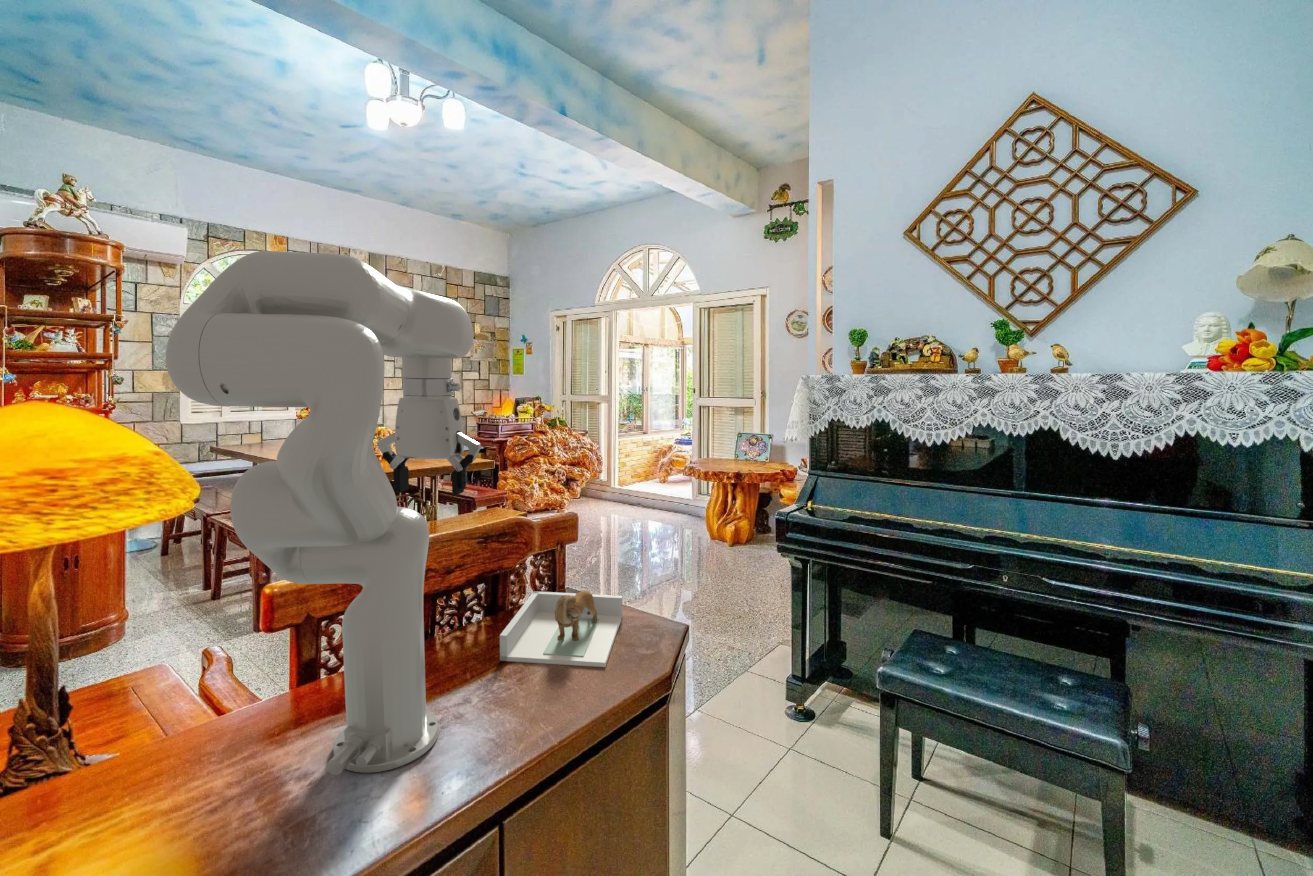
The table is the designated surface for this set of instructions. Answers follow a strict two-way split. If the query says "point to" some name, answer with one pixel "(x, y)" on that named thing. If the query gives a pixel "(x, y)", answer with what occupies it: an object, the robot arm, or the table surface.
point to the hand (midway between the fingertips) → (430, 492)
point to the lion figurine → (573, 612)
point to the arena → (538, 632)
